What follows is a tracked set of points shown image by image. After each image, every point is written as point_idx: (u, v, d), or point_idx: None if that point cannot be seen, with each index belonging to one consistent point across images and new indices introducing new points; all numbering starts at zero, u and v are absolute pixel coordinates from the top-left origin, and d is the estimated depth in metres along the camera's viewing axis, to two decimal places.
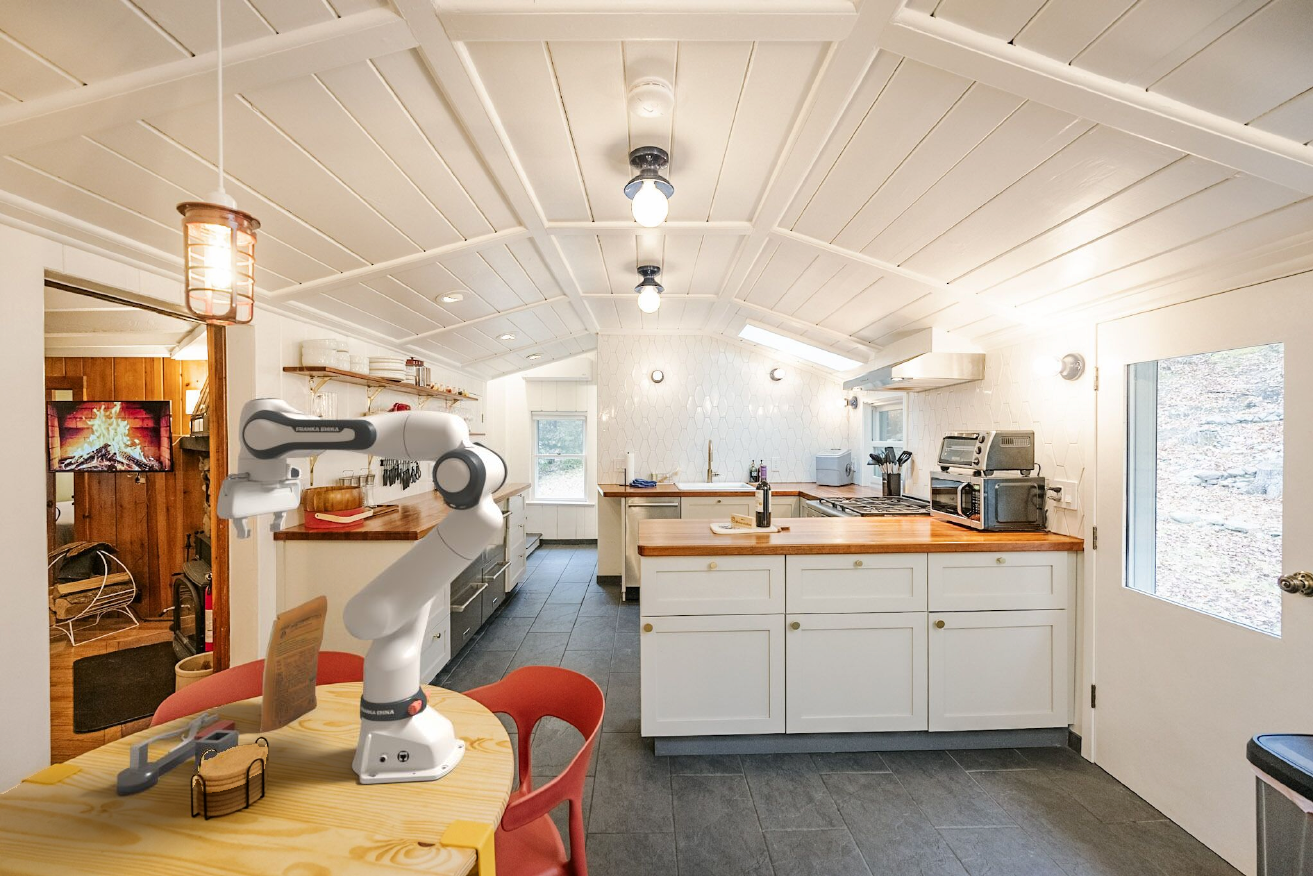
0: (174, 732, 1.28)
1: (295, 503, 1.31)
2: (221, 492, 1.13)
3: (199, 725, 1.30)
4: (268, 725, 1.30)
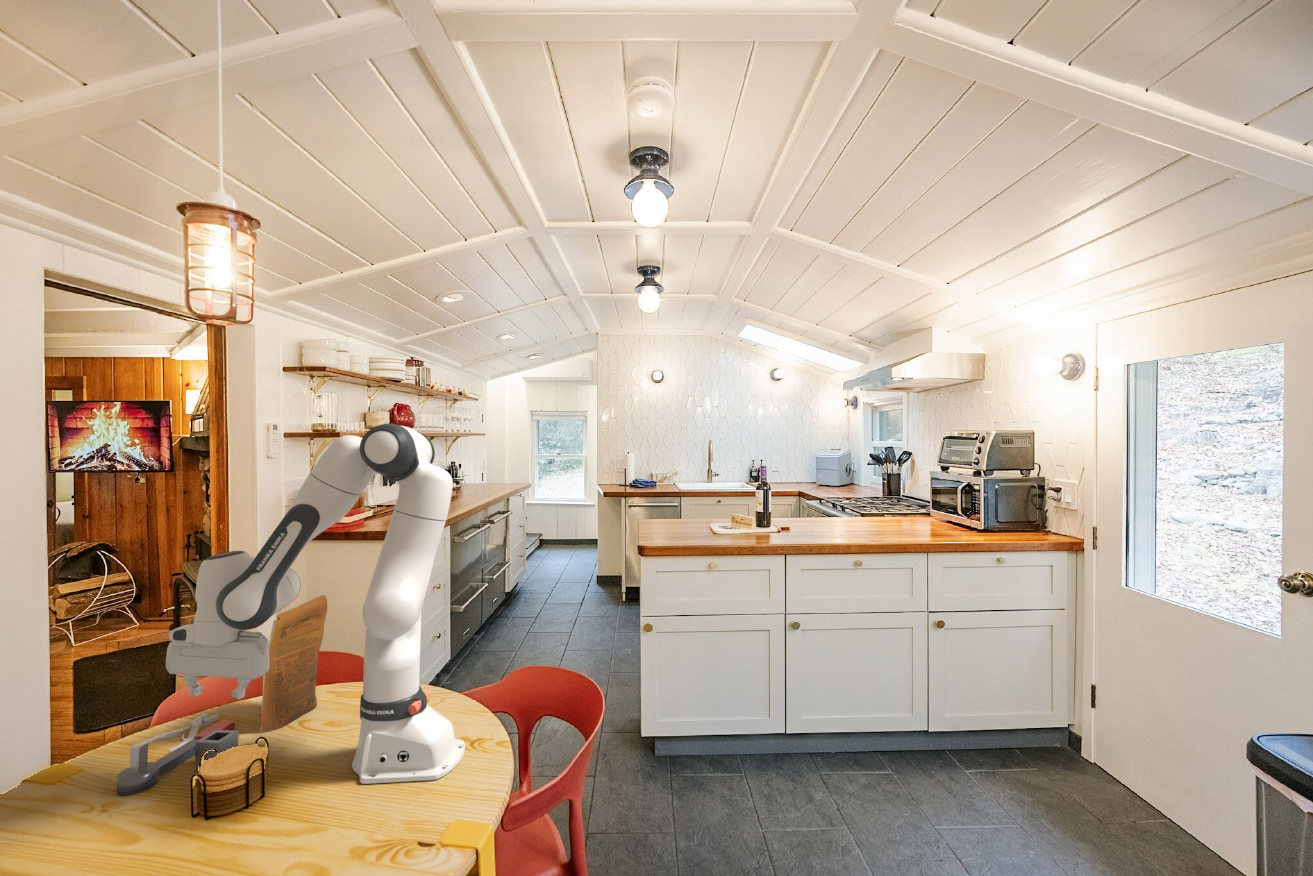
0: (174, 732, 1.28)
1: None
2: (258, 652, 1.14)
3: (199, 725, 1.30)
4: (268, 725, 1.30)
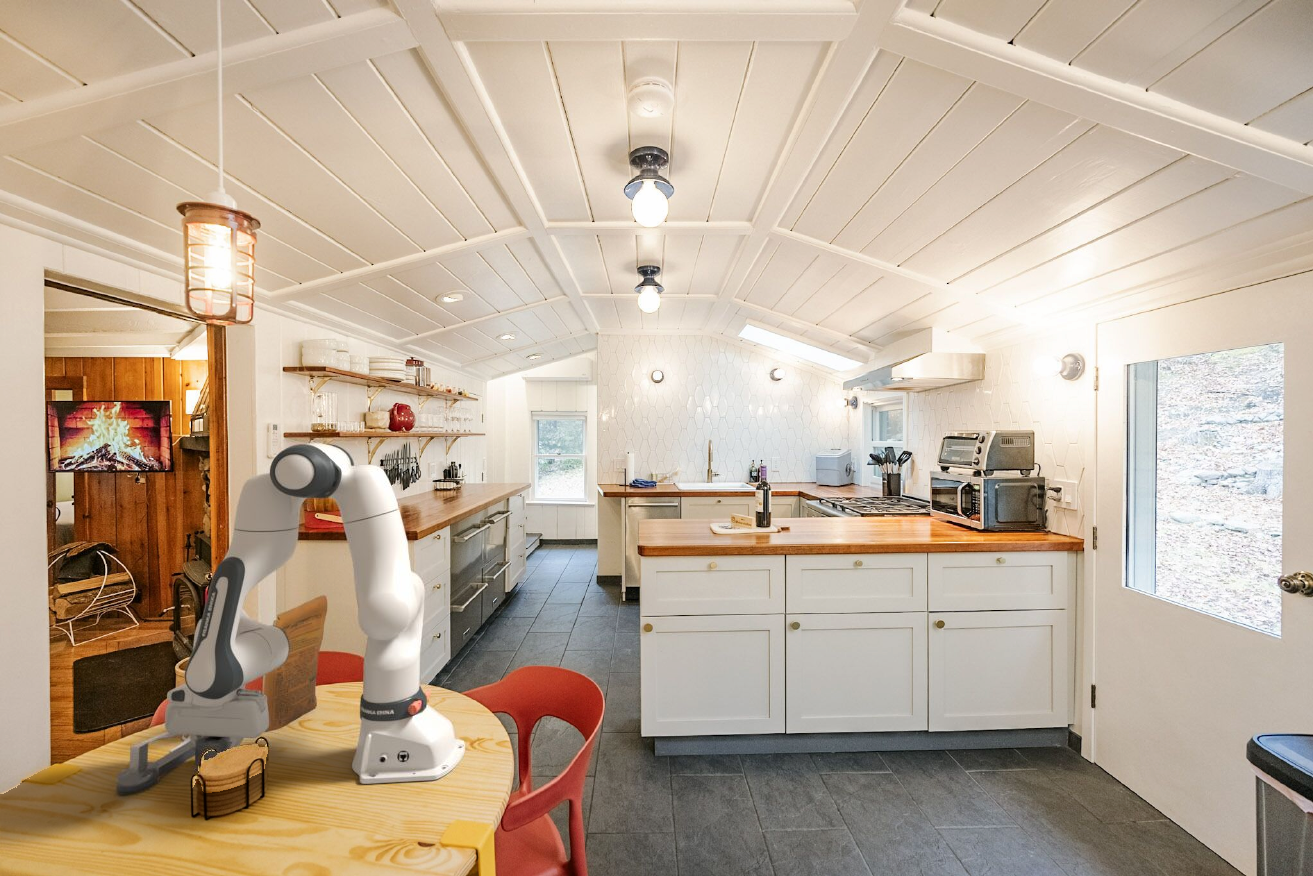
0: None
1: None
2: (257, 711, 1.14)
3: None
4: None
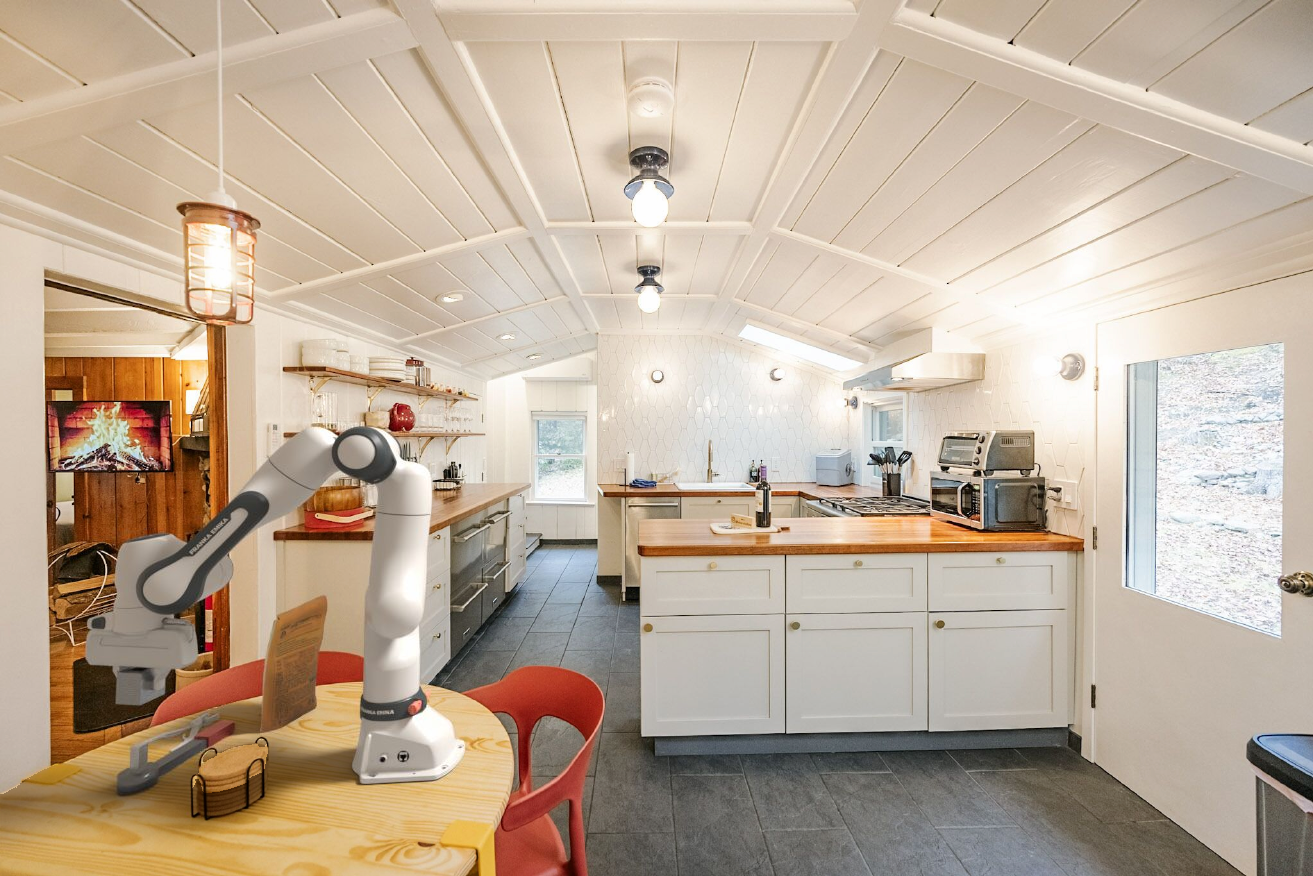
0: (175, 731, 1.28)
1: None
2: (183, 640, 1.07)
3: (200, 724, 1.30)
4: (268, 725, 1.30)
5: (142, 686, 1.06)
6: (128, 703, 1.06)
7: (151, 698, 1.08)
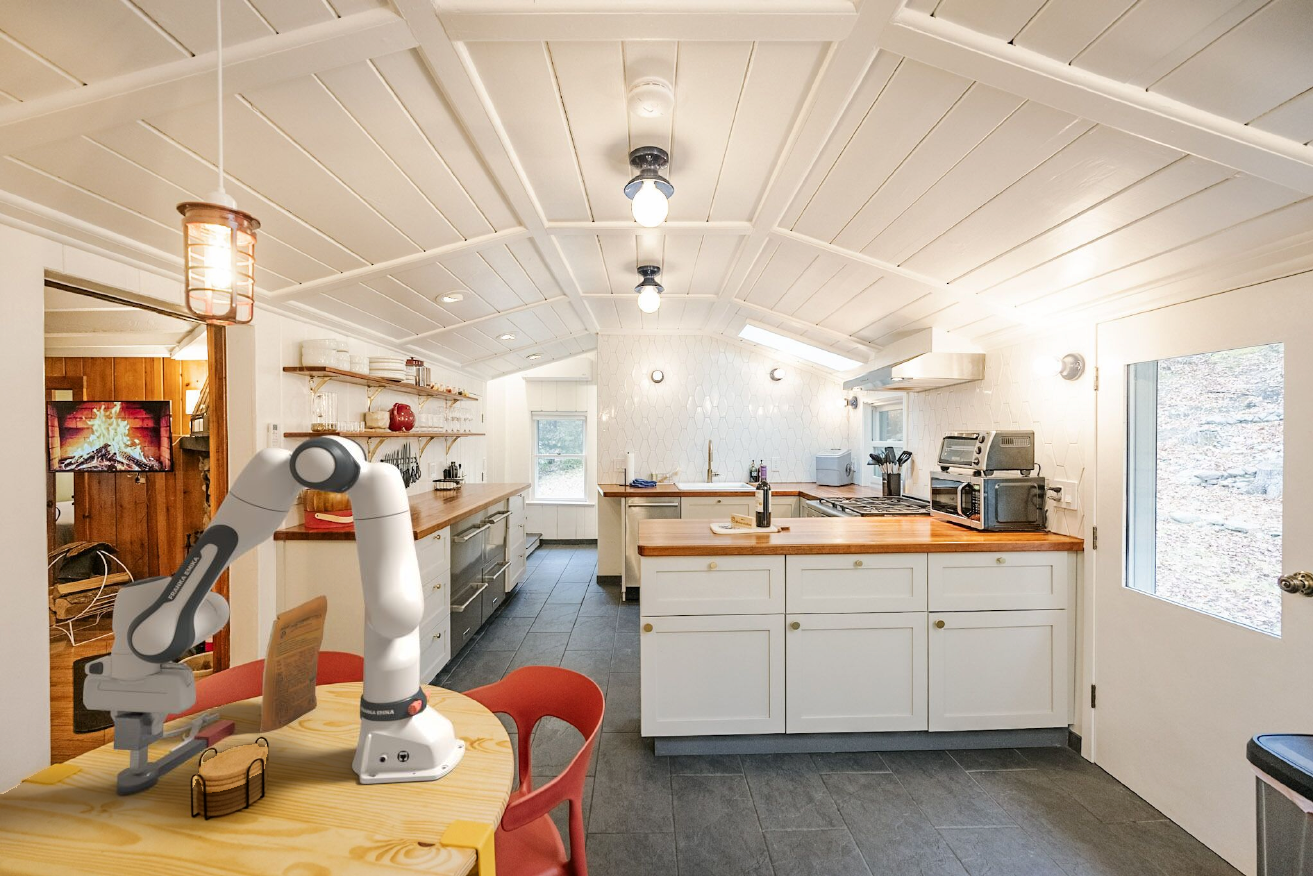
0: (175, 731, 1.28)
1: None
2: (181, 685, 1.07)
3: (200, 724, 1.30)
4: (268, 725, 1.30)
5: (140, 731, 1.06)
6: (126, 748, 1.06)
7: (149, 742, 1.08)
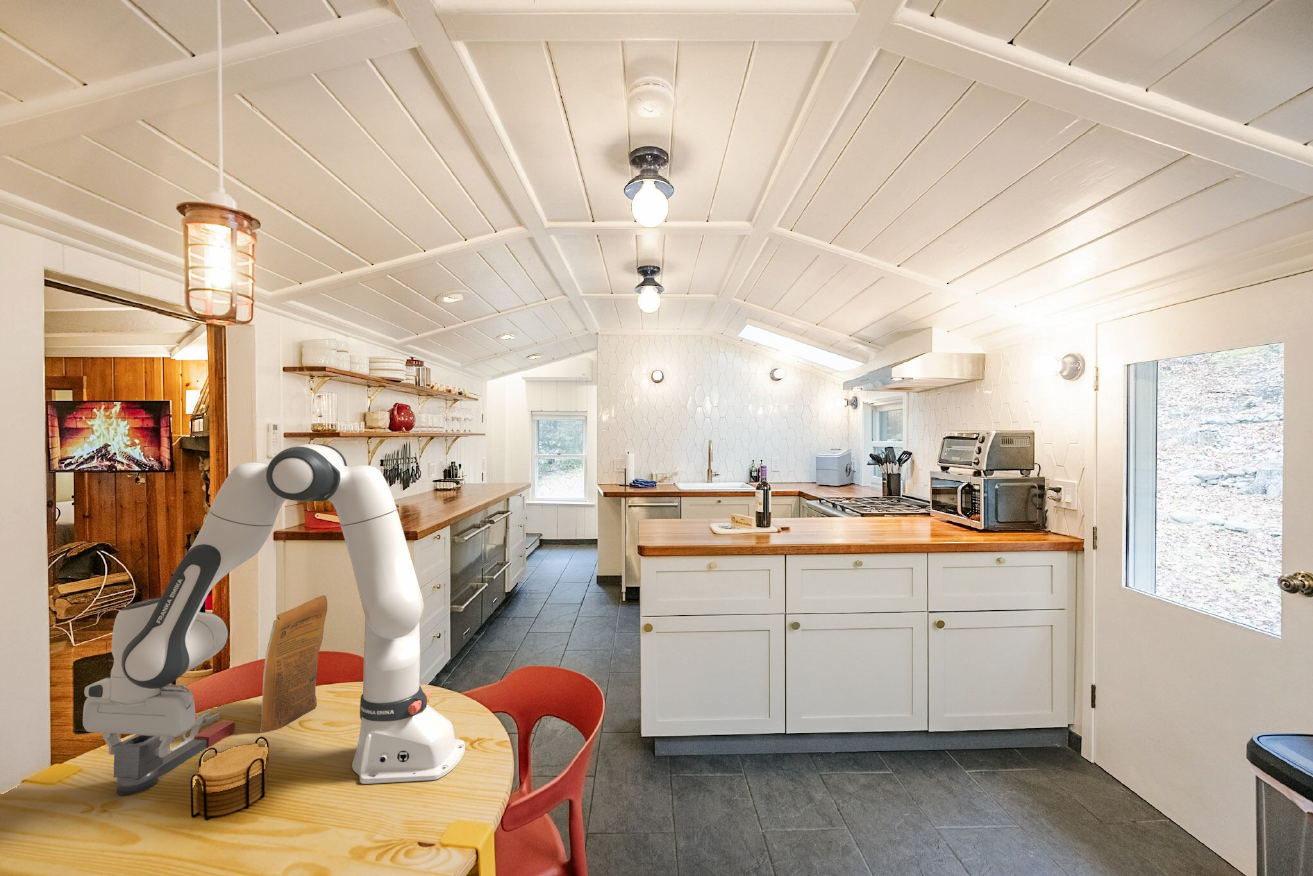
0: None
1: None
2: (181, 707, 1.07)
3: (200, 724, 1.31)
4: (268, 725, 1.30)
5: (140, 759, 1.06)
6: (126, 777, 1.06)
7: (149, 770, 1.08)
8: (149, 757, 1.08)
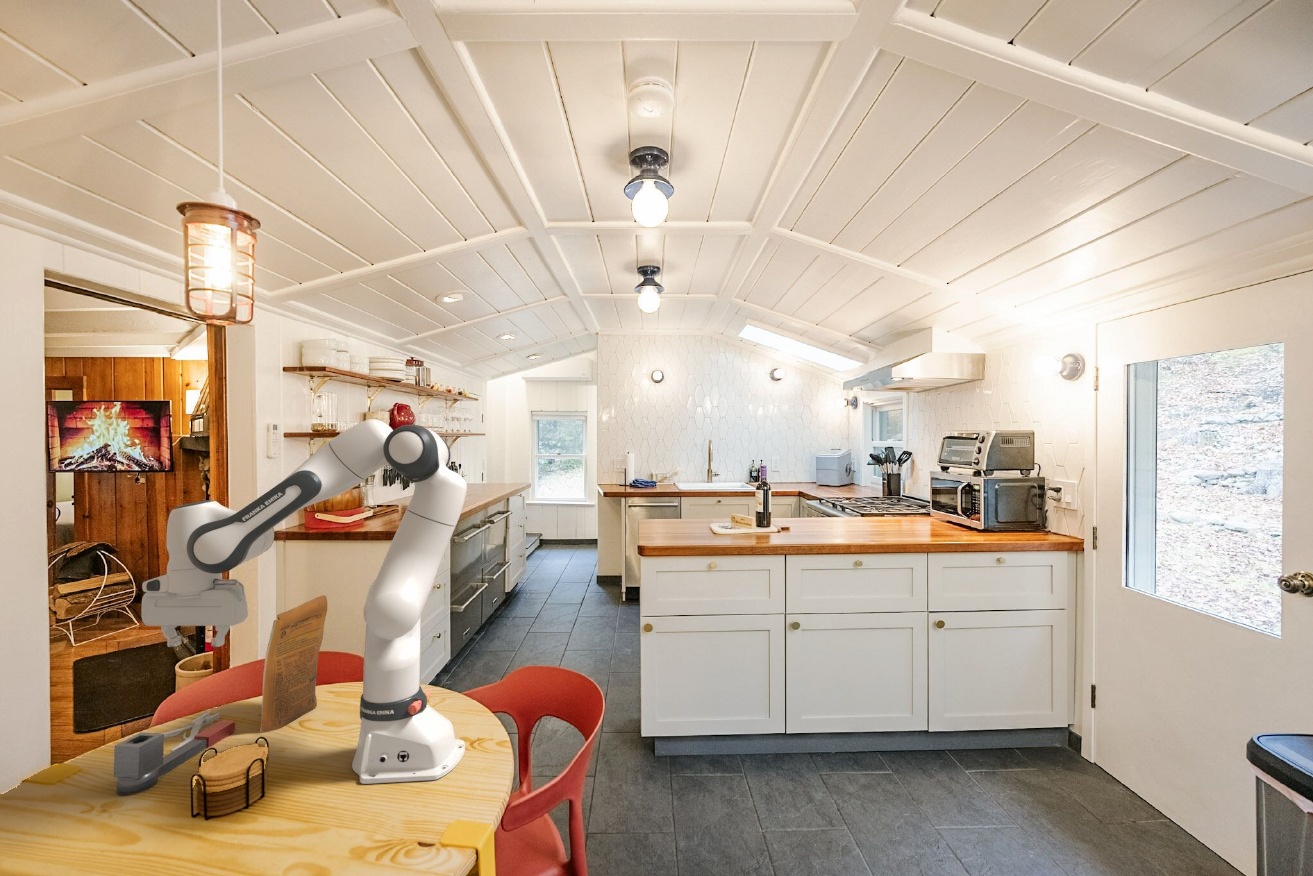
0: (176, 731, 1.28)
1: None
2: (234, 598, 1.14)
3: (201, 724, 1.31)
4: (268, 725, 1.30)
5: (140, 759, 1.06)
6: (126, 777, 1.06)
7: (149, 770, 1.08)
8: (149, 757, 1.08)
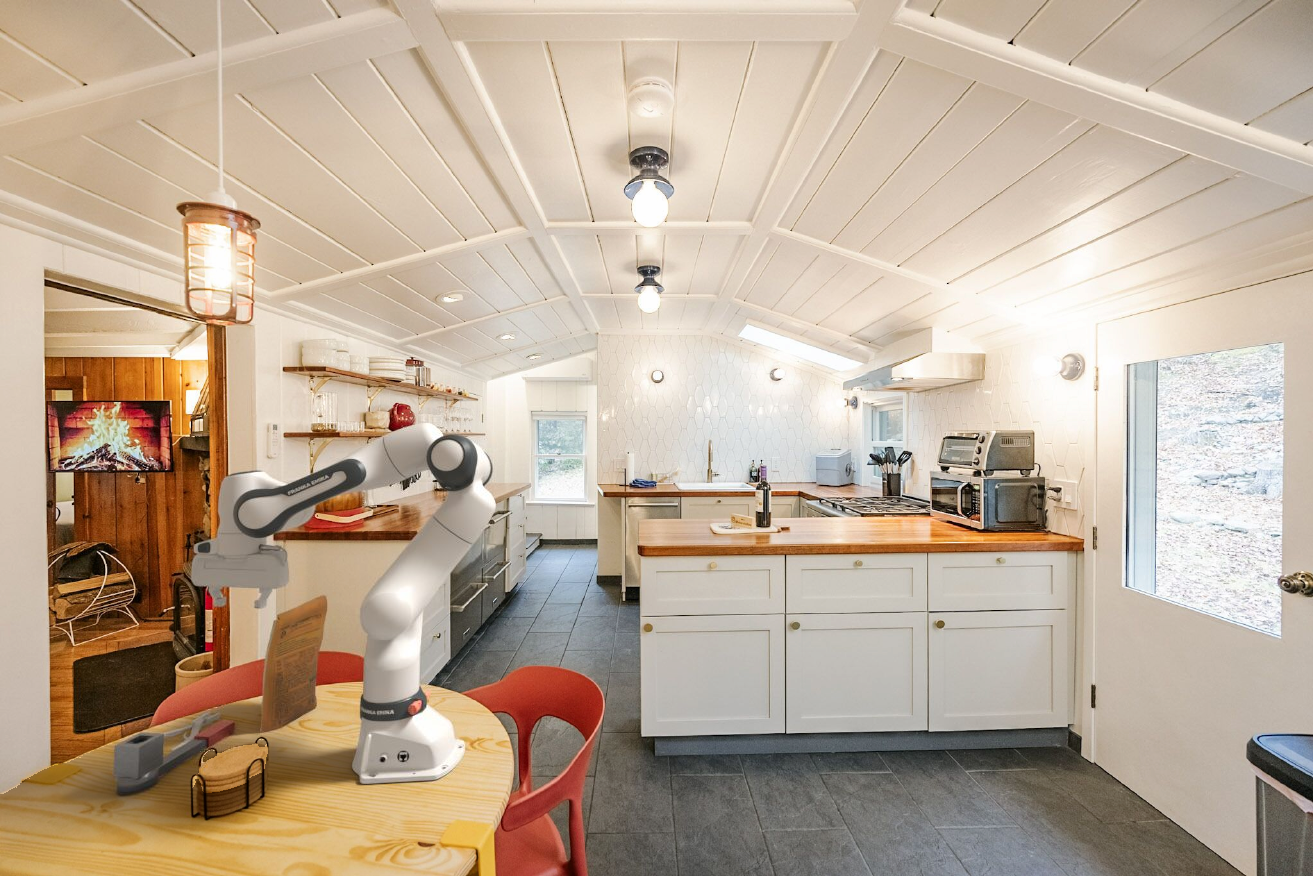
0: (176, 731, 1.28)
1: None
2: (278, 563, 1.21)
3: (201, 724, 1.31)
4: (268, 725, 1.30)
5: (140, 759, 1.06)
6: (126, 777, 1.06)
7: (149, 770, 1.08)
8: (149, 757, 1.08)
